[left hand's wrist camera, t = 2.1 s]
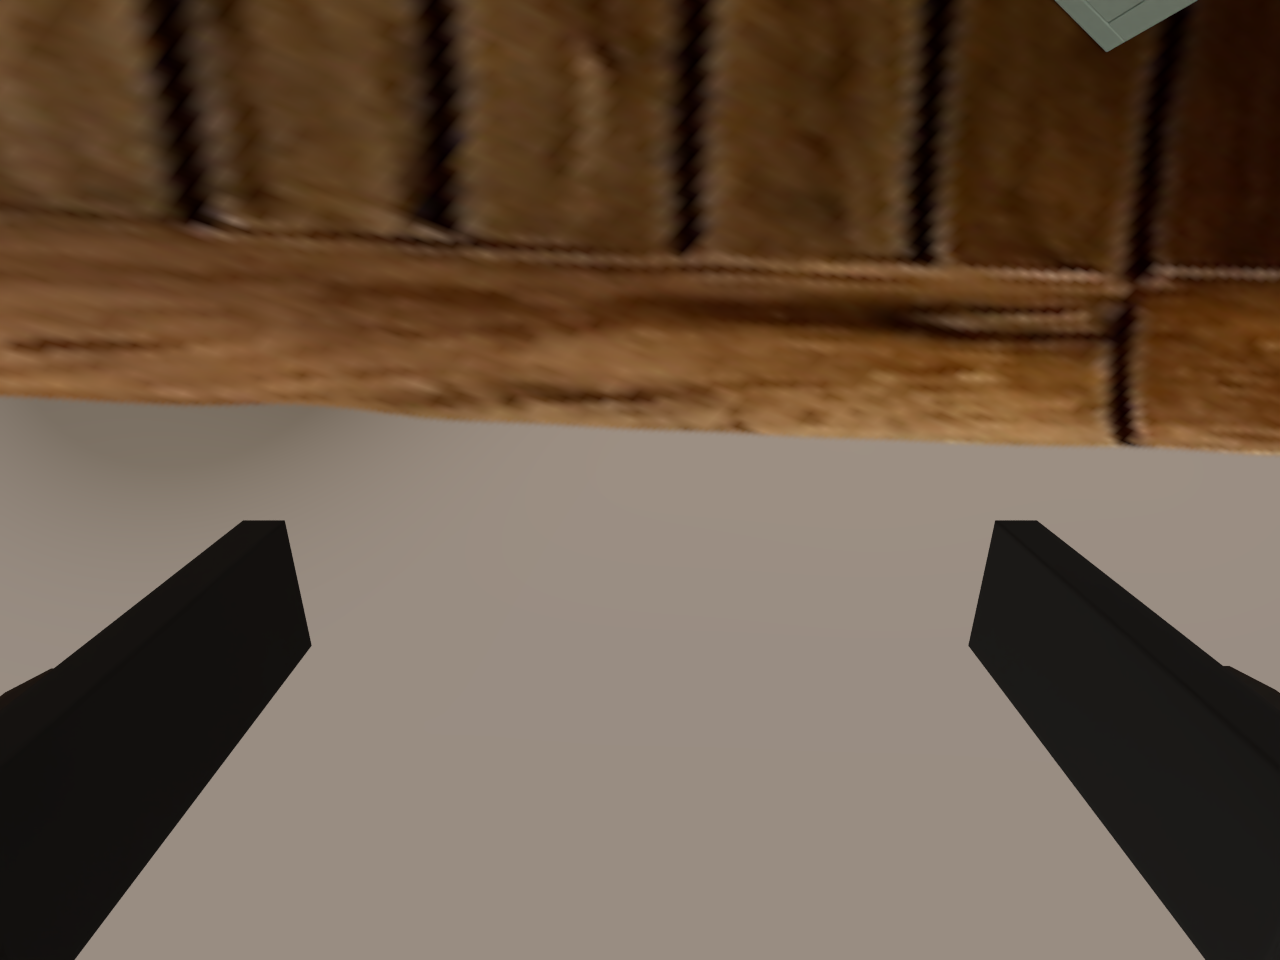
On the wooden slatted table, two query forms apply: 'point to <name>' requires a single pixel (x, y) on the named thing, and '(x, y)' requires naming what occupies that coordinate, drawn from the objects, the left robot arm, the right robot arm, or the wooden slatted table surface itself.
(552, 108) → the wooden slatted table surface
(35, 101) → the wooden slatted table surface
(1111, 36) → the chest
